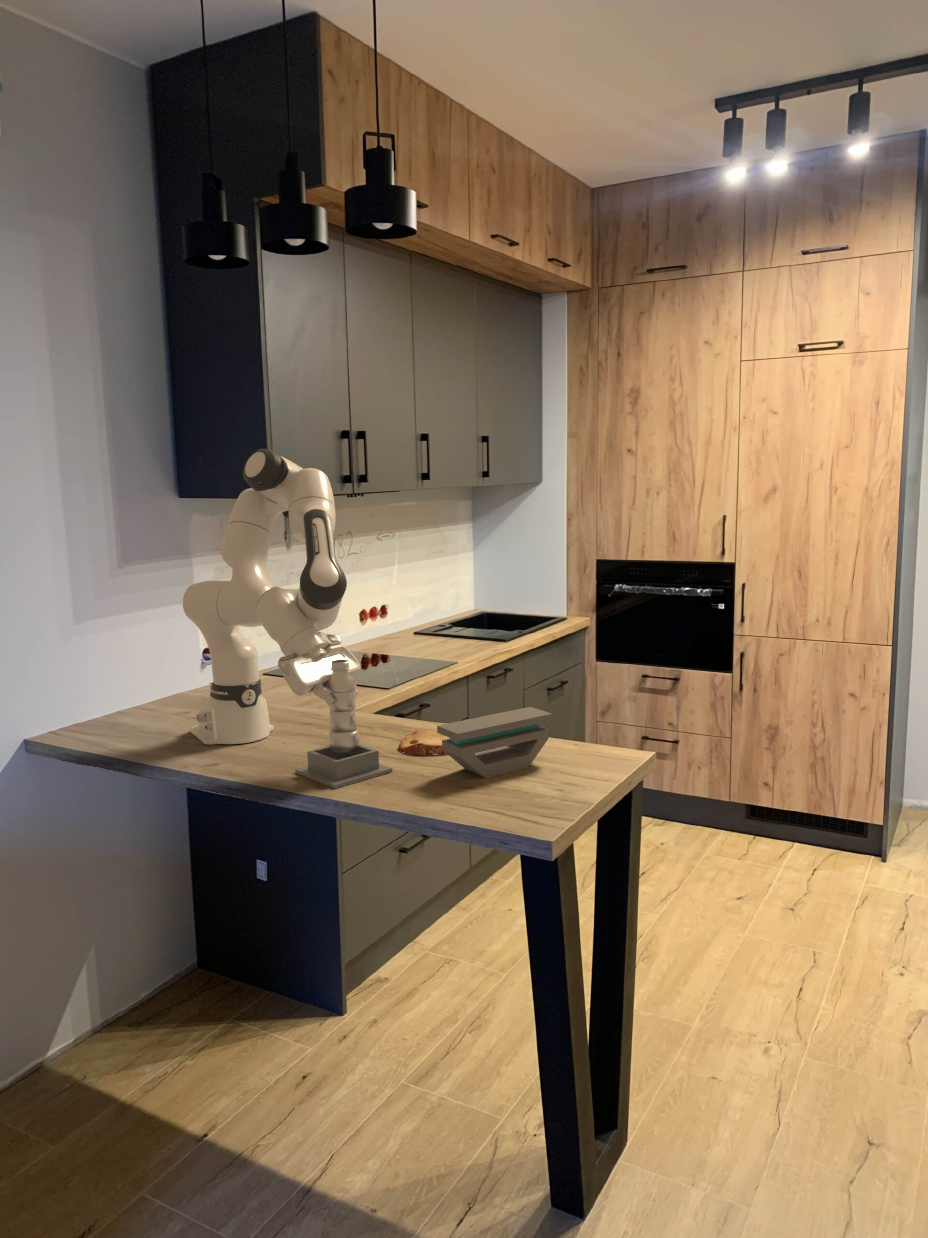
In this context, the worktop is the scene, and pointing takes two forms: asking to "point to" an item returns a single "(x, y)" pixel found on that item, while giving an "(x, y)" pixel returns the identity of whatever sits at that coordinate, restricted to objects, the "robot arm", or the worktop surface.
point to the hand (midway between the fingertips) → (344, 699)
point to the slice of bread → (423, 743)
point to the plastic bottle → (342, 708)
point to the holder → (342, 766)
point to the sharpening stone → (496, 741)
